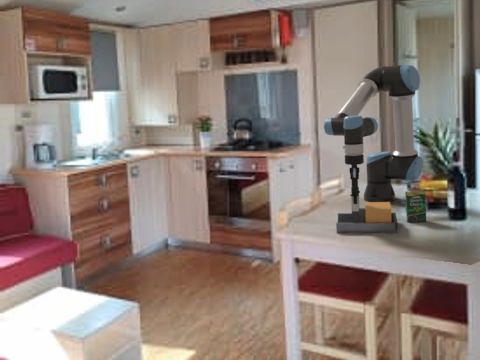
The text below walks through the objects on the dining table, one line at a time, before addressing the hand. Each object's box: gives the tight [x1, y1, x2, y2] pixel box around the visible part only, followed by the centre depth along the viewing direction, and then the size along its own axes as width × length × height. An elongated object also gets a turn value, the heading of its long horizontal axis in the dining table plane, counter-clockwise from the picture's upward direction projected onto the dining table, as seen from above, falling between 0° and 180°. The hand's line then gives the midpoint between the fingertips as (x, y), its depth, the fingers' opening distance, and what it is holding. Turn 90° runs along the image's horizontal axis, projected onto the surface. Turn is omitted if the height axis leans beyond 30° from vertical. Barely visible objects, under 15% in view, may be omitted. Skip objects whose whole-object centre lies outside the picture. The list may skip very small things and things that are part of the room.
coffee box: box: [405, 189, 427, 223], centre depth 236 cm, size 8×3×13 cm, turn 80°
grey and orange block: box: [350, 186, 392, 223], centre depth 231 cm, size 16×12×16 cm
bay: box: [335, 212, 399, 234], centre depth 233 cm, size 24×16×4 cm, turn 78°
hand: (355, 209), depth 233 cm, fingers closed on grey and orange block, 3 cm apart
